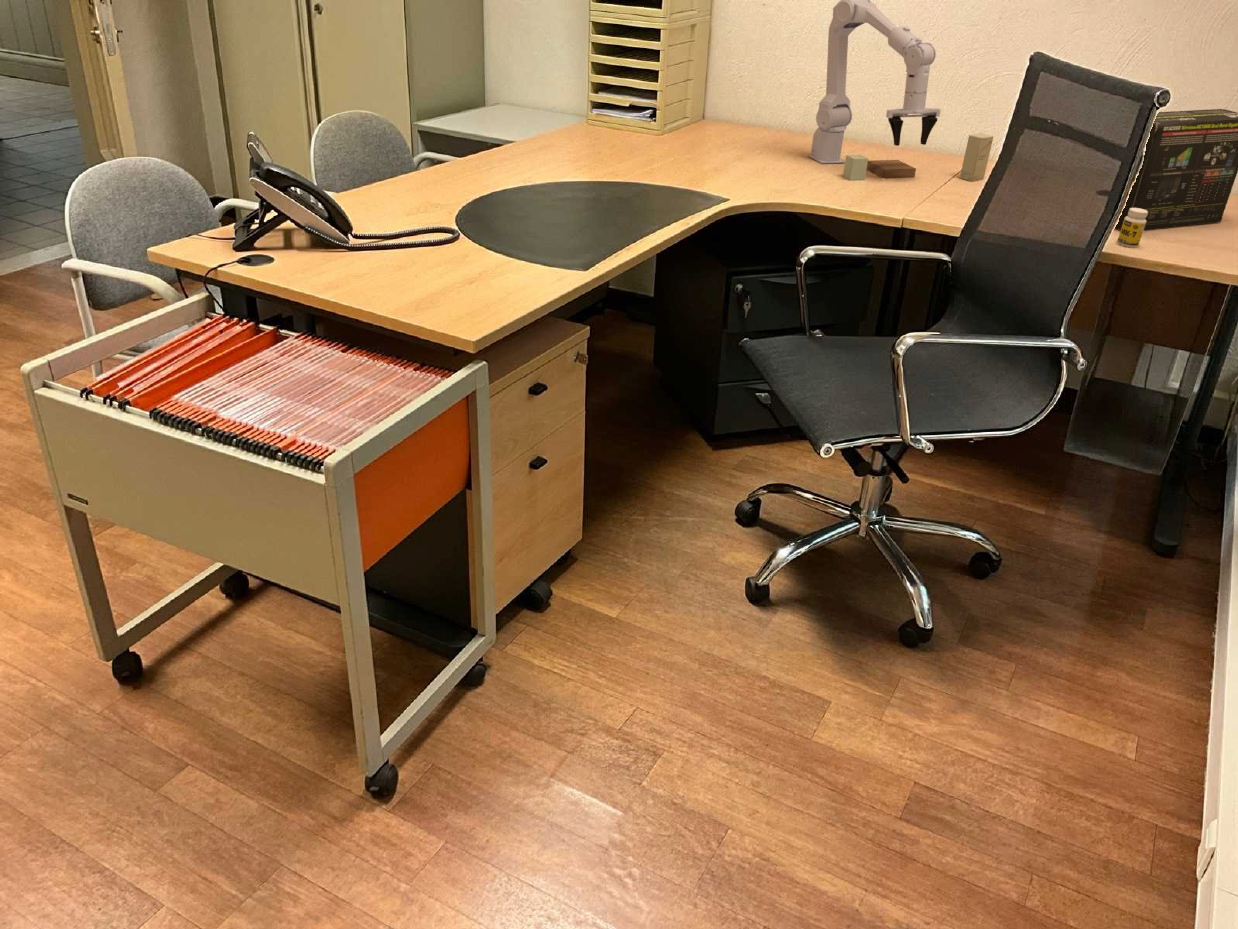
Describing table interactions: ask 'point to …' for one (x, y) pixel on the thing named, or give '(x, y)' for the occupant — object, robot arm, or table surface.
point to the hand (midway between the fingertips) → (909, 144)
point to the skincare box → (976, 157)
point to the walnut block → (891, 169)
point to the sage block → (855, 167)
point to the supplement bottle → (1132, 227)
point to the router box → (1186, 169)
